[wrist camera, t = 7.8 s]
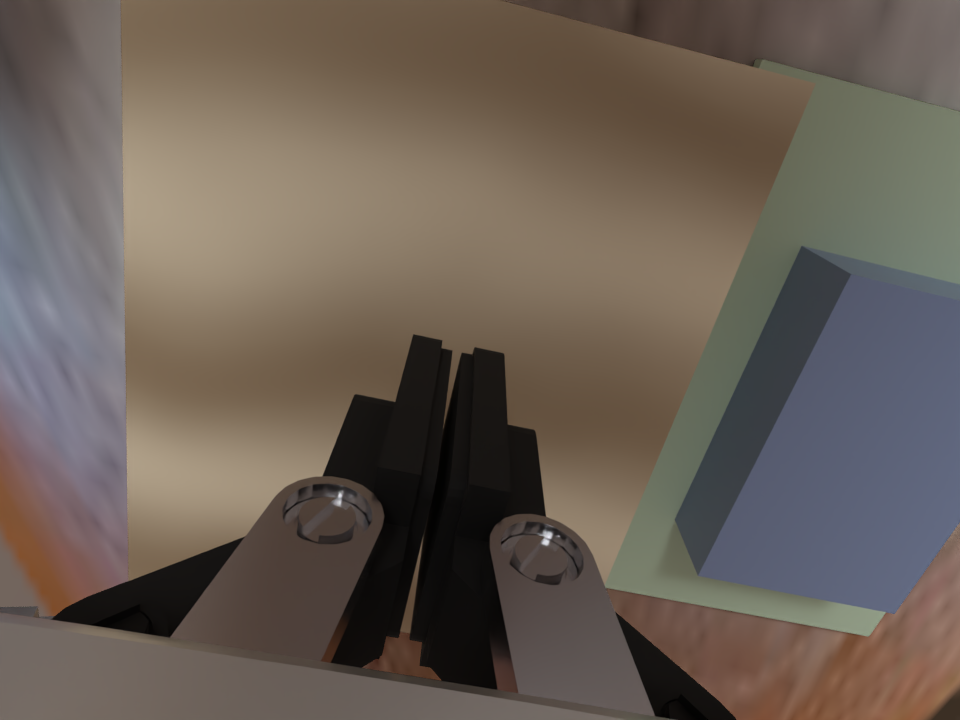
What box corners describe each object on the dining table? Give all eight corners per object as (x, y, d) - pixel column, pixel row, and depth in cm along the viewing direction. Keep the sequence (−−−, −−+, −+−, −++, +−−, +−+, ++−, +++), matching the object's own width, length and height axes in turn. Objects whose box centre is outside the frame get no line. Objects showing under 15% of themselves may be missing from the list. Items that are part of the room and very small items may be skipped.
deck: (217, -57, 14) (119, -101, 10) (734, 78, 15) (815, 83, 11) (193, 490, 20) (128, 584, 16) (557, 558, 21) (572, 661, 17)
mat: (755, 59, 14) (762, 58, 14) (1174, 170, 15) (1190, 172, 15) (562, 571, 21) (563, 580, 21) (862, 626, 22) (868, 636, 22)
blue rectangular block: (1093, 333, 14) (1014, 297, 16) (851, 274, 14) (801, 245, 16) (894, 613, 18) (850, 555, 20) (697, 575, 17) (674, 519, 20)
